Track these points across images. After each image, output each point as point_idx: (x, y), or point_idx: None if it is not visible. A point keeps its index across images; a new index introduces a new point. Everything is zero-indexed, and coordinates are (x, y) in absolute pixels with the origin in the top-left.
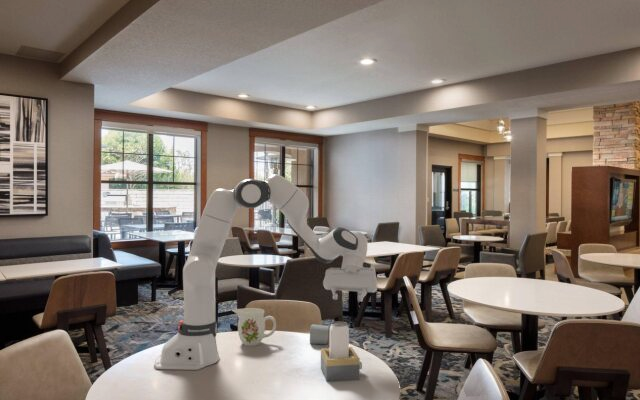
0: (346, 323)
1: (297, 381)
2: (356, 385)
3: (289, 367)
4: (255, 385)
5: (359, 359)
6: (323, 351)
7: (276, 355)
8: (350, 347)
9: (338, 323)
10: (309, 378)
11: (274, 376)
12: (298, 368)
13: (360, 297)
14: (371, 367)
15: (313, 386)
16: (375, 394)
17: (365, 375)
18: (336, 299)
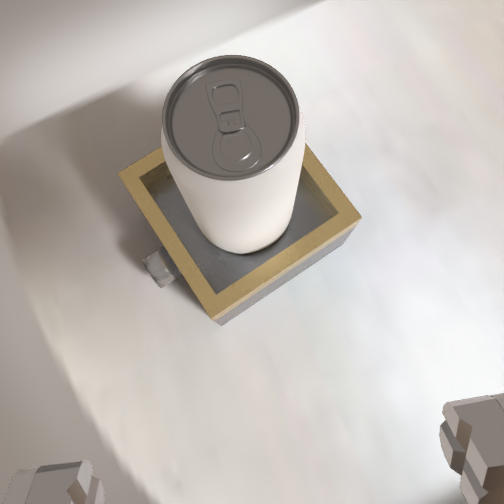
0: (181, 157)
1: (366, 91)
2: (141, 153)
3: (476, 198)
4: (487, 2)
5: (119, 176)
6: (328, 182)
7: None
8: (213, 307)
9: (248, 143)
10: (338, 134)
11: (475, 93)
12: (434, 205)
13: (34, 486)
14: (131, 361)
15: (289, 79)
16: (55, 113)
17: (133, 259)
18: (446, 431)
